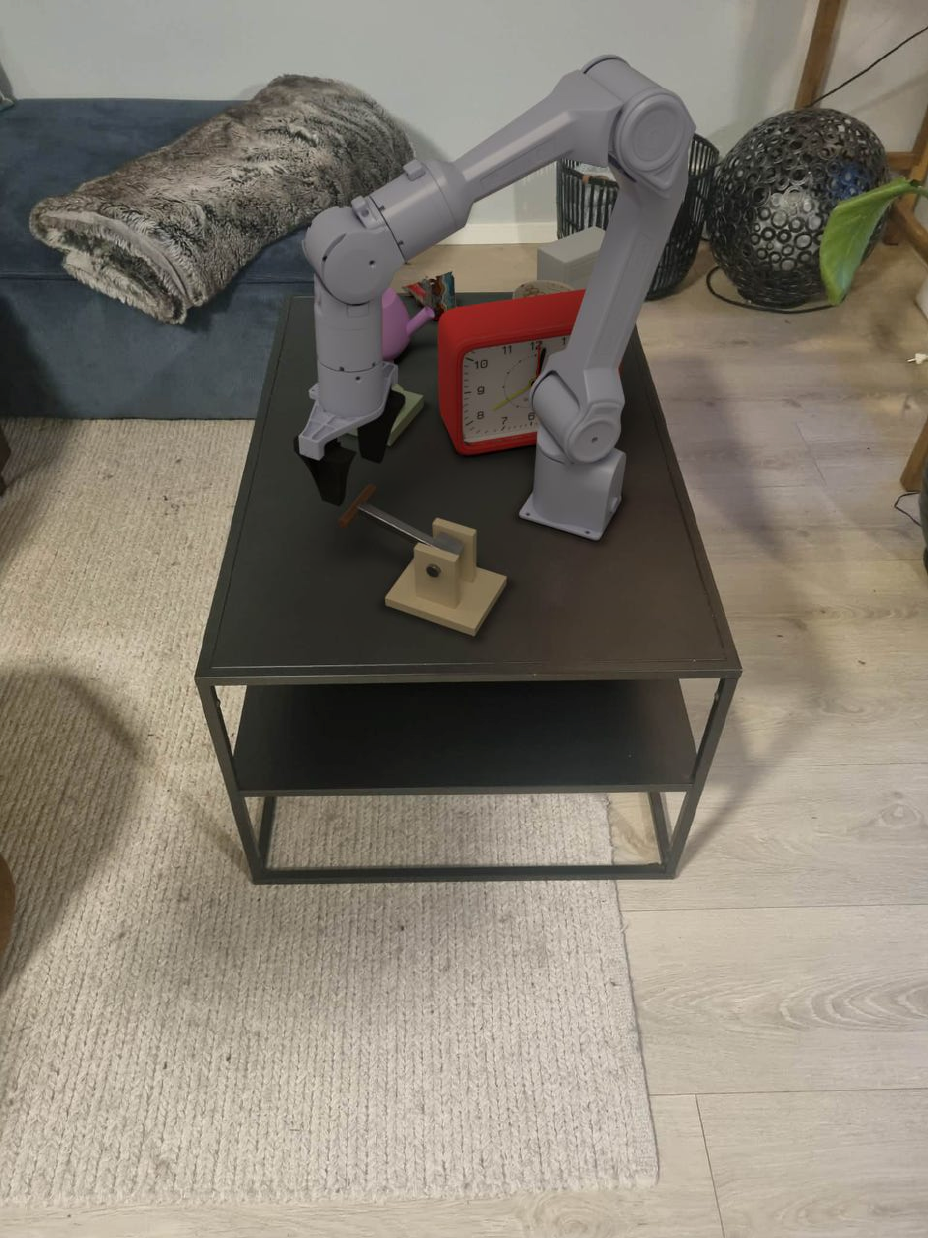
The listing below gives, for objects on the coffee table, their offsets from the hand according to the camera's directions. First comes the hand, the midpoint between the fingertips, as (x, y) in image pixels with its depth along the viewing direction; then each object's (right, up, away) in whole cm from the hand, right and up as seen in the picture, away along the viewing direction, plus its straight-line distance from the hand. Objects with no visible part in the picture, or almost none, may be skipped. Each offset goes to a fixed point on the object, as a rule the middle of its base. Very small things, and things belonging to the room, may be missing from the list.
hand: (352, 479), depth 91 cm
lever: (+5, -6, +2) cm, 8 cm away
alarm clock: (+18, +10, +24) cm, 32 cm away
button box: (0, +12, +25) cm, 28 cm away
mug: (+22, +19, +32) cm, 43 cm away
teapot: (0, +22, +36) cm, 42 cm away
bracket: (+9, -11, +5) cm, 15 cm away
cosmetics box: (+27, +30, +42) cm, 58 cm away
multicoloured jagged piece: (+3, +34, +42) cm, 54 cm away
